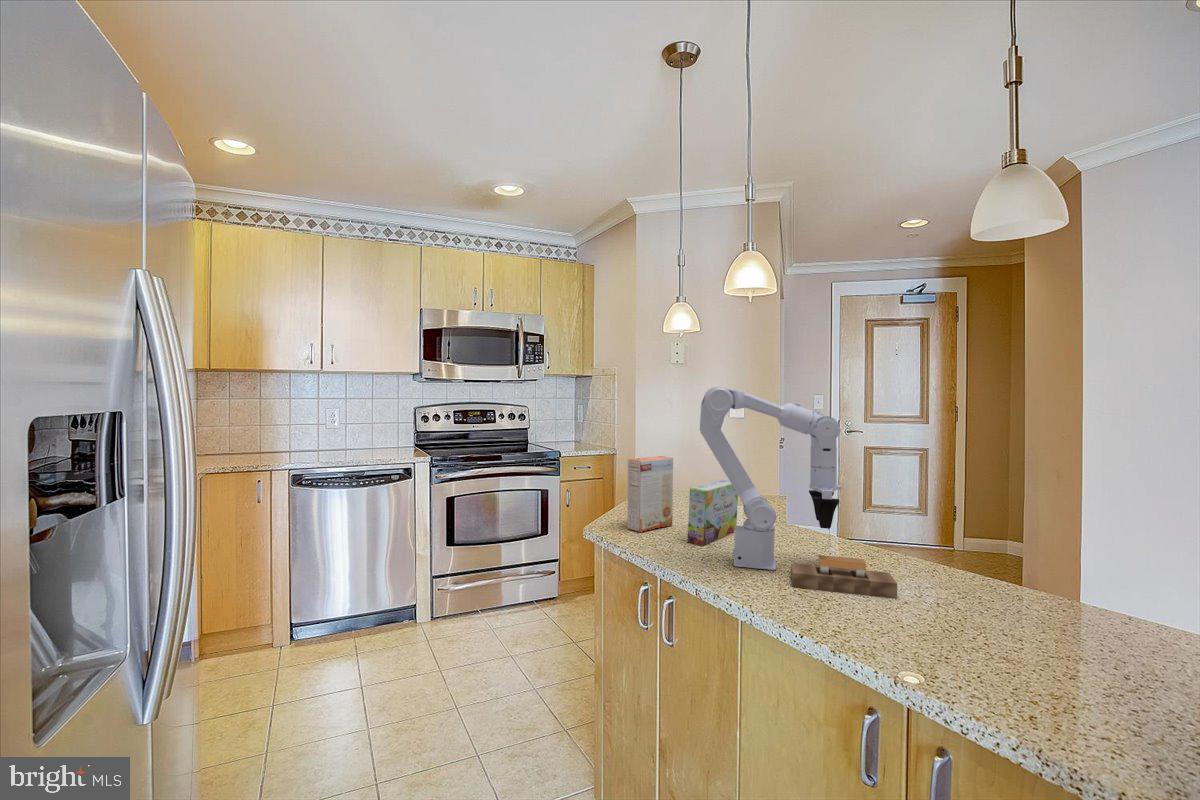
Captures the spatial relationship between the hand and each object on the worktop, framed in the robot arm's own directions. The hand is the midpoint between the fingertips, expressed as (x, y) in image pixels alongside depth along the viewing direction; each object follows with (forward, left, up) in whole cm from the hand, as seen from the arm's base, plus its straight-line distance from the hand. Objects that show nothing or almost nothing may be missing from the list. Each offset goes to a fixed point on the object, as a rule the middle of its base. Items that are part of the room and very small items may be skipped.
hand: (823, 524), depth 131 cm
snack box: (-27, +20, -11) cm, 35 cm away
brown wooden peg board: (+2, -12, -10) cm, 16 cm away
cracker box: (-46, +24, -11) cm, 53 cm away
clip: (+2, -12, -10) cm, 16 cm away
